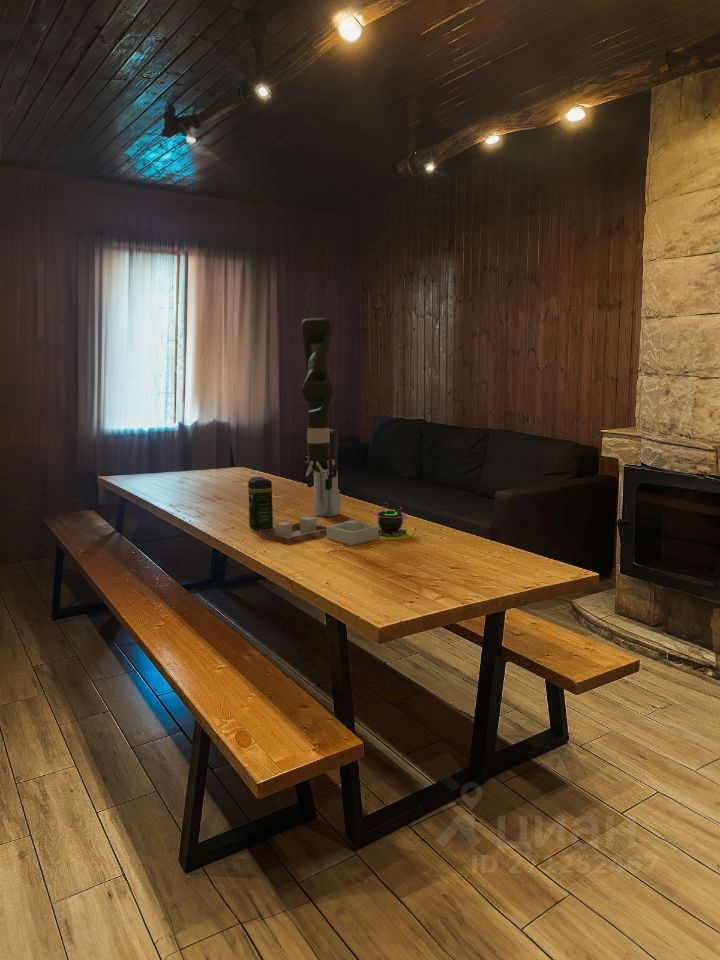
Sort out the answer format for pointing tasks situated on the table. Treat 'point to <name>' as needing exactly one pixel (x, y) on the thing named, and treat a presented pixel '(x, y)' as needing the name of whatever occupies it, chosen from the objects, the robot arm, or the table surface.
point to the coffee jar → (260, 503)
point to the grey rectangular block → (307, 524)
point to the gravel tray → (294, 534)
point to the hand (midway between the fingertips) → (319, 488)
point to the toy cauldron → (391, 525)
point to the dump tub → (353, 534)
